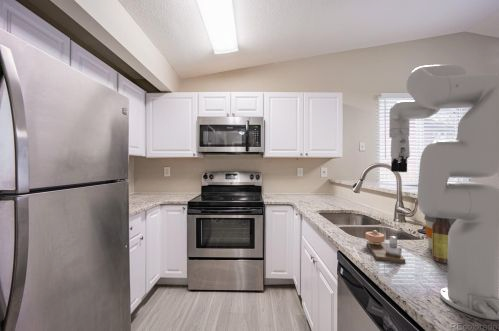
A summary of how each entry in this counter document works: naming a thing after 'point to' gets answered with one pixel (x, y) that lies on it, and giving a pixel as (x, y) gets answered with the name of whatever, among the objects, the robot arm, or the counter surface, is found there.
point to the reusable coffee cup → (429, 227)
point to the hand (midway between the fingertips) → (398, 171)
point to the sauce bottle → (440, 239)
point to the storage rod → (393, 248)
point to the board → (384, 254)
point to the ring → (375, 237)
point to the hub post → (375, 242)
